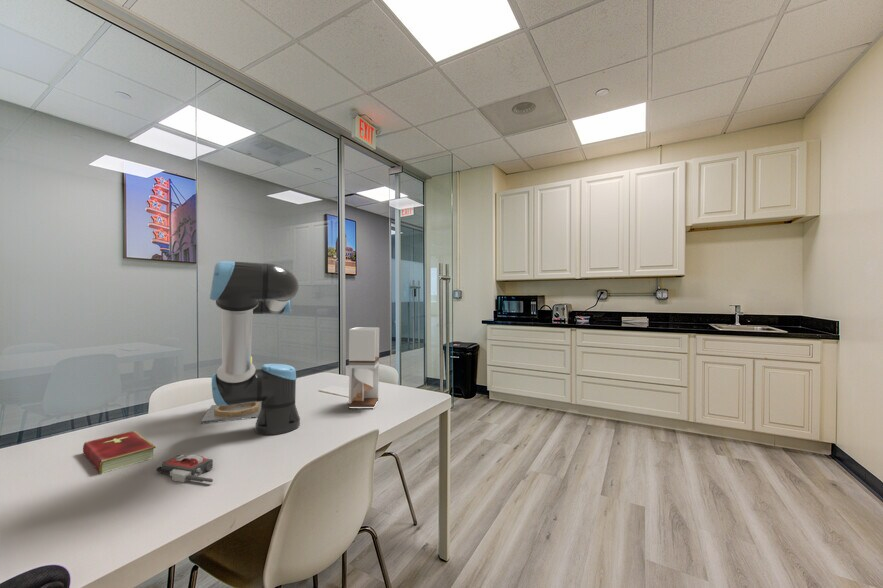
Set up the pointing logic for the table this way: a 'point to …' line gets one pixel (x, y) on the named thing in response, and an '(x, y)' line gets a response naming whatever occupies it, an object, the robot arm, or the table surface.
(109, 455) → the hardcover book
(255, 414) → the ring collar plate
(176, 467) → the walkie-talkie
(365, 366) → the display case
